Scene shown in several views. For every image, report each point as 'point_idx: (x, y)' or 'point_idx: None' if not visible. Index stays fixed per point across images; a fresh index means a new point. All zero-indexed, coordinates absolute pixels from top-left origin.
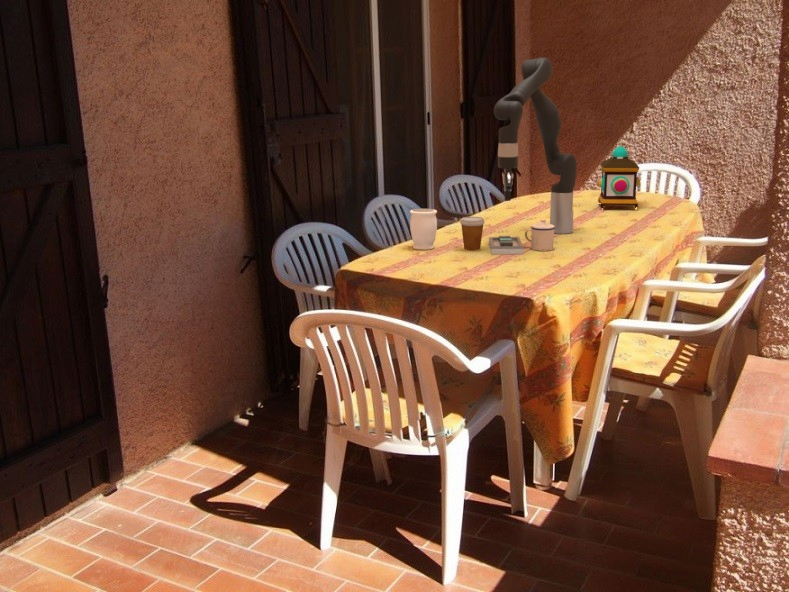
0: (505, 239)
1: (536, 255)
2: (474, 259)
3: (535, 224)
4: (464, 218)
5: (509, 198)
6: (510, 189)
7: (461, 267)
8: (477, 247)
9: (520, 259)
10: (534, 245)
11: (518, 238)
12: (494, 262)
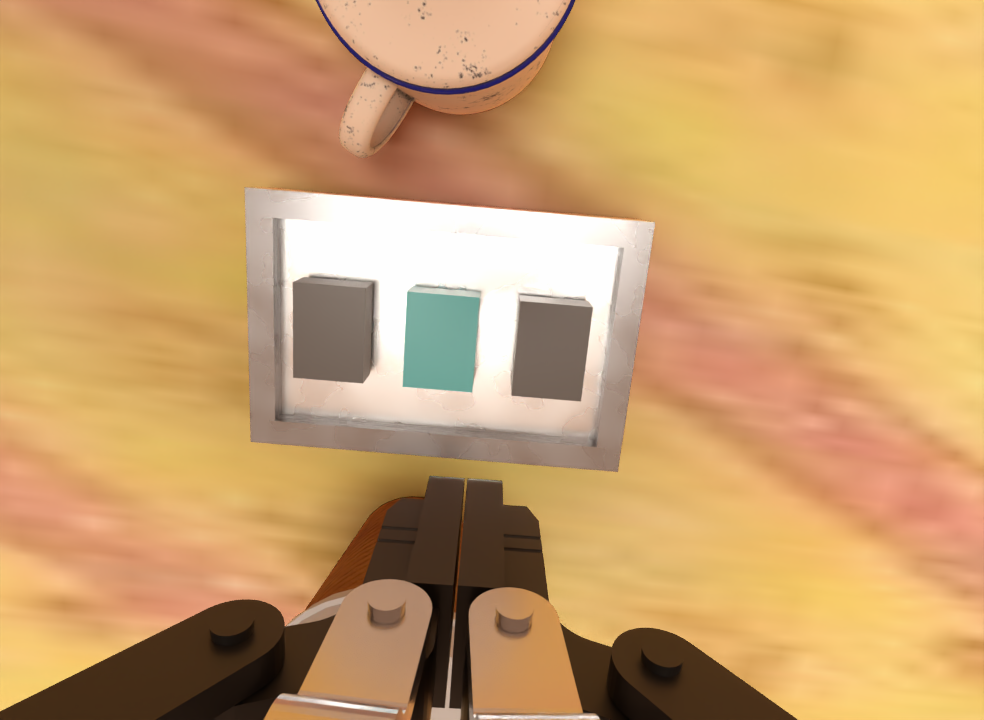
0: (458, 348)
1: (705, 119)
2: (742, 570)
3: (440, 32)
4: None
5: (533, 523)
6: (687, 673)
7: (939, 663)
8: (462, 529)
9: (815, 273)
10: (515, 92)
11: (314, 205)
12: (861, 464)
